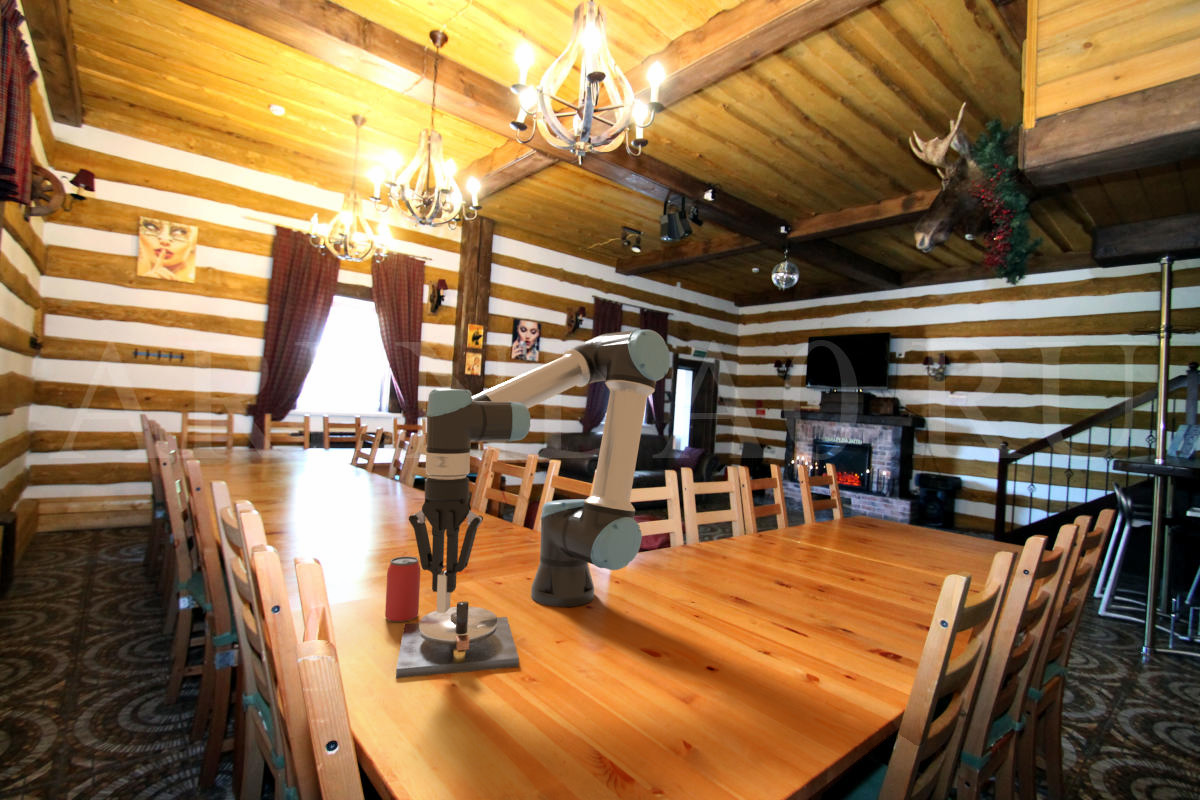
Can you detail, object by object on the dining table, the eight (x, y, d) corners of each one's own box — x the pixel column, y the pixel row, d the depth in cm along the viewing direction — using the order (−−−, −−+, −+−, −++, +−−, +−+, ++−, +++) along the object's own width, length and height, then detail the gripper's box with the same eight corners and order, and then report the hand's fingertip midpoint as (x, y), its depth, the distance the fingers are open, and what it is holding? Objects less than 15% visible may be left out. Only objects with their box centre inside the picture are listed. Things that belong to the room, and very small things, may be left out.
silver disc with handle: (418, 617, 105) (420, 583, 105) (491, 611, 109) (493, 579, 109) (419, 654, 89) (421, 614, 89) (504, 645, 94) (505, 607, 94)
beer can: (407, 625, 110) (410, 565, 110) (378, 621, 111) (381, 562, 111) (424, 613, 116) (426, 557, 116) (396, 610, 117) (399, 554, 118)
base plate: (506, 624, 112) (507, 607, 112) (518, 666, 94) (519, 646, 94) (404, 631, 107) (405, 613, 107) (395, 678, 88) (396, 656, 88)
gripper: (402, 477, 92) (398, 616, 92) (477, 480, 91) (473, 620, 91) (420, 472, 100) (416, 600, 100) (489, 474, 99) (485, 604, 99)
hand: (443, 609), depth 95 cm, fingers closed
